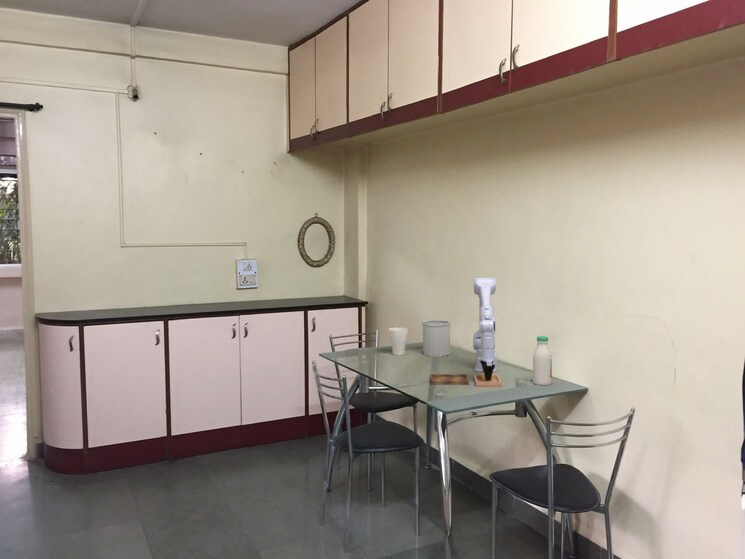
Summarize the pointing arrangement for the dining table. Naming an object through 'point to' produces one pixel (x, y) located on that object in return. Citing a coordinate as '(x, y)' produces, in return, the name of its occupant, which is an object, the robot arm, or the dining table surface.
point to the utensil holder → (436, 337)
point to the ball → (484, 377)
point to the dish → (481, 383)
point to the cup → (398, 339)
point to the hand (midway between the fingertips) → (487, 378)
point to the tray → (449, 379)
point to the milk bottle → (542, 362)
